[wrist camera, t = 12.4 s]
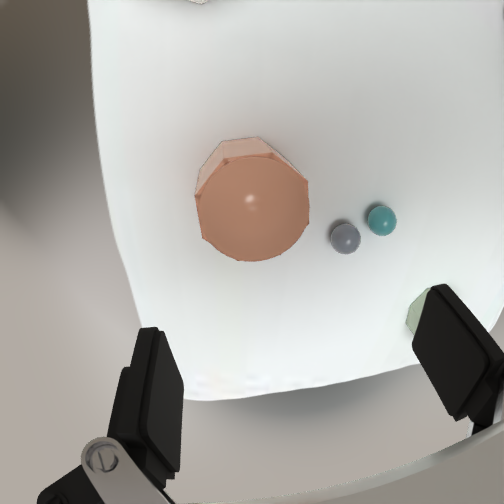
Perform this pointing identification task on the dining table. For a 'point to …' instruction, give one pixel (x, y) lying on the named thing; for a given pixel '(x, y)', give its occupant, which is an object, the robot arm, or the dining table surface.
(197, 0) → the jar
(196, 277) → the dining table surface
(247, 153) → the peach octagonal canister
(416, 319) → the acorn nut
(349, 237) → the marble
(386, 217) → the marble
